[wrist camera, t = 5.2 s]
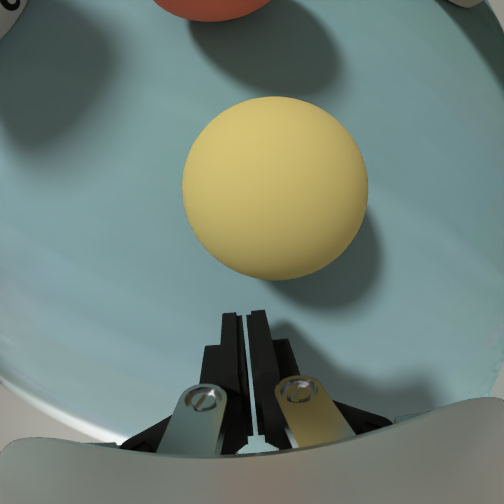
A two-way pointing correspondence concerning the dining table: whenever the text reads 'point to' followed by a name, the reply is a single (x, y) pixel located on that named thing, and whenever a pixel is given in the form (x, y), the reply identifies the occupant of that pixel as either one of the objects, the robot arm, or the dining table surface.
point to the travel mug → (466, 2)
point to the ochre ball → (275, 188)
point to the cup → (9, 14)
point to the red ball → (211, 8)
